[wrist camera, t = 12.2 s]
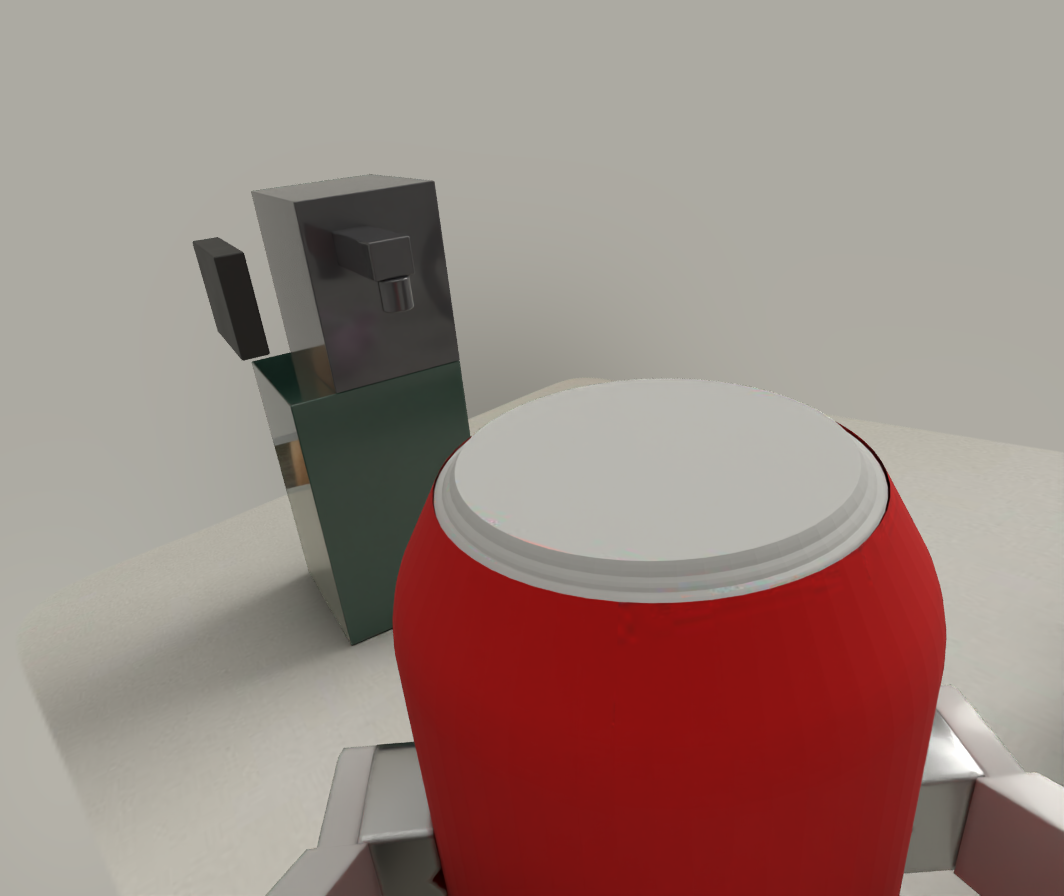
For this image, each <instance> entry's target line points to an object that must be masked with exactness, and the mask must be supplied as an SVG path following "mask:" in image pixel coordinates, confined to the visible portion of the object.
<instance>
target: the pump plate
mask: <svg viewBox="0 0 1064 896" xmlns="http://www.w3.org/2000/svg"><path fill="white" fill-rule="evenodd" d="M193 246H194V250H195V253H196V257H197V260H198V263H199V267H200V270H201V274H202V277H203V281H204V284H205V288H206V291H207V294H208V298H209V302H210V305H211V309H212V312H213V316H214V319H215V323H216V326H217V329H218V332H219V333H220V334H221V335H222V337H223V338H224V339H225V340H226V341H227V343H228V344H229V345H230V346H231V347H232V349H233V350H234V351H235V352H236V353H237V354H238V356H239V357H240V358H241V359H242V360H248V359H252V358H256V357H260V356H264V355H268V354H269V353H270V352H269V348H268V344H267V341H266V336H265V333H264V329H263V325H262V321H261V318H260V313H259V310H258V306H257V302H256V298H255V294H254V290H253V287H252V283H251V279H250V275H249V271H248V267H247V264H246V259H245V255H244V253H243V252H242V251H240V250H238V249H237V248H235V247H233V246H232V245H230V244H228V243H227V242H225V241H223V240H222V239H220V238H218V237H216V238H211V239H204V240H198V241H193Z"/></svg>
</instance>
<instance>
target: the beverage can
mask: <svg viewBox="0 0 1064 896" xmlns="http://www.w3.org/2000/svg"><path fill="white" fill-rule="evenodd" d="M393 637H394V649H395V656H396V661H397V665H398V670H399V674H400V679H401V683H402V688H403V692H404V697H405V702H406V706H407V711H408V715H409V720H410V724H411V729H412V733H413V738H414V742H415V747H416V752H417V756H418V761H419V765H420V770H421V774H422V779H423V783H424V788H425V793H426V797H427V802H428V806H429V811H430V815H431V820H432V824H433V828H434V833H435V837H436V842H437V847H438V851H439V856H440V860H441V865H442V870H443V875H444V879H445V883H446V888H447V892H448V896H899V894H900V889H901V884H902V879H903V874H904V869H905V863H906V858H907V853H908V848H909V843H910V838H911V833H912V828H913V823H914V818H915V812H916V807H917V802H918V797H919V792H920V787H921V782H922V777H923V772H924V767H925V762H926V756H927V751H928V746H929V741H930V736H931V731H932V726H933V721H934V716H935V711H936V705H937V700H938V695H939V690H940V685H941V680H942V675H943V670H944V661H945V649H946V623H945V614H944V605H943V597H942V592H941V588H940V584H939V581H938V577H937V574H936V571H935V567H934V564H933V561H932V558H931V556H930V553H929V551H928V549H927V547H926V545H925V543H924V541H923V539H922V537H921V535H920V533H919V531H918V529H917V527H916V526H915V524H914V522H913V520H912V518H911V516H910V514H909V512H908V510H907V508H906V507H905V505H904V503H903V501H902V499H901V497H900V495H899V493H898V491H897V489H896V488H895V486H894V484H893V482H892V480H891V478H890V476H889V474H888V472H887V471H886V469H885V467H884V465H883V463H882V461H881V460H880V458H879V457H878V456H877V454H876V453H875V452H874V450H873V449H872V448H871V447H870V446H869V445H868V444H867V443H866V442H865V441H864V440H862V439H861V438H860V437H858V436H857V435H856V434H855V433H853V432H852V431H850V430H849V429H847V428H846V427H844V426H842V425H841V424H839V423H837V422H835V421H834V420H832V419H831V418H830V417H828V416H827V415H825V414H823V413H821V412H820V411H818V410H816V409H814V408H813V407H811V406H809V405H806V404H804V403H801V402H799V401H797V400H795V399H792V398H789V397H786V396H783V395H780V394H777V393H774V392H770V391H766V390H763V389H759V388H754V387H750V386H744V385H739V384H733V383H726V382H718V381H710V380H698V379H675V378H672V379H671V378H658V379H635V380H624V381H614V382H606V383H599V384H593V385H587V386H582V387H577V388H573V389H568V390H564V391H561V392H557V393H553V394H550V395H547V396H544V397H540V398H538V399H535V400H532V401H529V402H527V403H524V404H522V405H520V406H517V407H515V408H513V409H511V410H509V411H507V412H505V413H503V414H501V415H500V416H498V417H496V418H495V419H493V420H491V421H490V422H489V423H487V424H486V425H485V426H483V427H482V428H481V429H479V430H478V431H477V432H476V433H475V434H474V435H472V436H471V437H470V438H468V439H467V440H466V441H464V442H463V443H462V444H461V445H460V446H459V447H458V448H457V449H455V450H454V452H453V453H452V454H451V455H450V456H449V457H448V458H447V459H446V461H445V462H444V464H443V465H442V467H441V468H440V470H439V472H438V475H437V477H436V479H435V481H434V484H433V486H432V488H431V491H430V493H429V496H428V498H427V500H426V503H425V505H424V507H423V510H422V512H421V514H420V517H419V519H418V521H417V524H416V526H415V528H414V531H413V533H412V535H411V538H410V540H409V543H408V545H407V547H406V550H405V552H404V555H403V558H402V562H401V566H400V569H399V573H398V577H397V582H396V588H395V596H394V607H393Z"/></svg>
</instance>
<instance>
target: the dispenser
mask: <svg viewBox="0 0 1064 896" xmlns="http://www.w3.org/2000/svg"><path fill="white" fill-rule="evenodd" d="M251 193H252V197H253V201H254V205H255V210H256V214H257V217H258V222H259V226H260V230H261V234H262V238H263V242H264V246H265V250H266V254H267V258H268V262H269V267H270V271H271V275H272V279H273V283H274V287H275V291H276V295H277V299H278V303H279V307H280V311H281V315H282V319H283V323H284V327H285V331H286V335H287V339H288V344H289V347H290V351H291V353H286V354H282V355H278V356H274V357H269V358H266V359H261V360H257V361H253V362H252V365H253V369H254V373H255V376H256V380H257V384H258V387H259V391H260V395H261V398H262V402H263V406H264V409H265V413H266V417H267V420H268V424H269V428H270V431H271V435H272V439H273V443H274V446H275V450H276V454H277V457H278V460H279V465H280V468H281V472H282V476H283V479H284V483H285V486H286V490H287V494H288V498H289V501H290V505H291V509H292V512H293V516H294V520H295V523H296V527H297V531H298V534H299V538H300V542H301V545H302V549H303V553H304V556H305V560H306V564H307V568H308V571H309V573H310V575H311V576H312V578H313V580H314V582H315V583H316V585H317V587H318V588H319V590H320V592H321V594H322V595H323V597H324V599H325V601H326V602H327V604H328V606H329V607H330V609H331V611H332V613H333V614H334V616H335V618H336V620H337V621H338V623H339V625H340V627H341V628H342V630H343V632H344V633H345V635H346V637H347V639H348V640H349V642H350V644H351V645H354V644H356V643H358V642H361V641H363V640H365V639H368V638H370V637H372V636H375V635H377V634H380V633H382V632H384V631H387V630H389V629H391V628H393V607H394V596H395V588H396V582H397V577H398V573H399V569H400V566H401V562H402V558H403V555H404V552H405V550H406V547H407V545H408V543H409V540H410V538H411V535H412V533H413V531H414V528H415V526H416V524H417V521H418V519H419V517H420V514H421V512H422V510H423V507H424V505H425V503H426V500H427V498H428V496H429V493H430V491H431V488H432V486H433V484H434V481H435V479H436V477H437V475H438V472H439V470H440V468H441V467H442V465H443V464H444V462H445V461H446V459H447V458H448V457H449V456H450V455H451V454H452V453H453V452H454V450H455V449H457V448H458V447H459V446H460V445H461V444H462V443H463V442H464V441H466V440H467V439H468V438H470V430H469V423H468V416H467V410H466V402H465V395H464V388H463V382H462V374H461V367H460V361H459V352H458V345H457V338H456V331H455V324H454V317H453V310H452V303H451V296H450V288H449V282H448V274H447V267H446V260H445V253H444V246H443V240H442V232H441V225H440V218H439V211H438V204H437V197H436V190H435V182H434V181H432V180H421V179H412V178H402V177H392V176H382V175H372V174H369V175H362V176H355V177H348V178H341V179H333V180H326V181H319V182H312V183H305V184H298V185H291V186H284V187H276V188H270V189H263V190H256V191H252V192H251Z"/></svg>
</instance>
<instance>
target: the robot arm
mask: <svg viewBox="0 0 1064 896" xmlns="http://www.w3.org/2000/svg"><path fill="white" fill-rule="evenodd" d="M943 870H954V874H956V875H957V876H958V877H959V878H960V879H962V880H963V881H964V882H965V883H966V884H967V885H969V886H970V887H971V888H972V889H973V890H975V891H976V892H977V893H978V894H979V895H981V896H1064V787H1063V786H1061V785H1059V784H1057V783H1055V782H1054V781H1052V780H1050V779H1048V778H1047V777H1045V776H1043V775H1041V774H1039V773H1038V772H1030V773H1026V772H1025V771H1024V770H1023V768H1022V767H1021V766H1020V765H1019V763H1018V762H1017V761H1016V760H1015V759H1014V757H1013V756H1012V755H1011V754H1010V752H1009V751H1008V750H1007V749H1006V747H1005V746H1004V745H1003V744H1002V742H1001V741H1000V740H999V739H998V738H997V736H996V735H995V734H994V733H993V731H992V730H991V729H990V728H989V726H988V725H987V724H986V723H985V721H984V720H983V719H982V718H981V717H980V715H979V714H978V713H977V712H976V710H975V709H974V708H973V707H972V705H971V704H970V703H969V702H968V700H967V699H966V698H965V697H964V696H963V694H962V693H961V692H960V691H959V689H957V688H956V687H954V686H952V685H951V684H950V685H941V686H940V690H939V695H938V700H937V705H936V711H935V716H934V721H933V726H932V731H931V736H930V741H929V746H928V751H927V756H926V762H925V767H924V772H923V777H922V782H921V787H920V792H919V797H918V802H917V807H916V812H915V818H914V823H913V828H912V833H911V838H910V843H909V848H908V853H907V858H906V863H905V869H904V873H917V872H930V871H943ZM265 896H448V892H447V888H446V883H445V879H444V875H443V870H442V865H441V860H440V856H439V851H438V847H437V842H436V837H435V833H434V828H433V824H432V820H431V815H430V811H429V806H428V802H427V797H426V793H425V788H424V783H423V779H422V774H421V770H420V765H419V761H418V756H417V752H416V747H415V742H406V743H393V744H381V745H375V746H363V747H351V748H344V749H343V750H342V752H341V754H340V755H339V757H338V761H337V765H336V769H335V773H334V777H333V782H332V786H331V790H330V794H329V798H328V803H327V807H326V811H325V815H324V820H323V824H322V828H321V832H320V836H319V841H318V845H317V848H314V849H306V851H305V852H304V853H303V854H302V855H301V856H300V857H299V858H298V860H297V861H296V862H295V863H294V864H293V865H292V866H291V867H290V869H289V870H288V871H287V872H286V873H285V874H284V875H283V876H282V878H281V879H280V880H279V881H278V882H277V883H276V884H275V885H274V886H273V888H272V889H271V890H270V891H269V892H268V893H267V894H266V895H265Z"/></svg>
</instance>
